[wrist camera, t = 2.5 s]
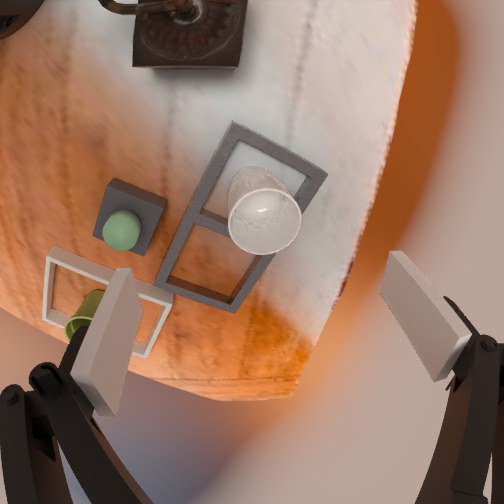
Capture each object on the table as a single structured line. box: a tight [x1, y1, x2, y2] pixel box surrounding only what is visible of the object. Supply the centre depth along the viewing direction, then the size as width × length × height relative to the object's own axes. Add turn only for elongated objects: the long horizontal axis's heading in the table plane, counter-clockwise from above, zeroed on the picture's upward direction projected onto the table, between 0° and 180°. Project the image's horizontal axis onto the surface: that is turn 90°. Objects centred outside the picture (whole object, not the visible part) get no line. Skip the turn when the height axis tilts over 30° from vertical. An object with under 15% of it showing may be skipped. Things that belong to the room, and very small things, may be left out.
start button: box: [102, 210, 141, 251], centre depth 36 cm, size 5×5×5 cm
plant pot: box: [64, 290, 105, 342], centre depth 44 cm, size 9×9×9 cm
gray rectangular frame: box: [42, 245, 174, 359], centre depth 46 cm, size 22×16×3 cm
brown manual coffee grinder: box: [98, 0, 248, 70], centre depth 20 cm, size 16×11×18 cm
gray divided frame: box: [153, 120, 328, 314], centre depth 42 cm, size 14×26×2 cm, turn 151°
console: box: [93, 178, 167, 256], centre depth 39 cm, size 8×8×3 cm
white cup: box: [228, 167, 302, 255], centre depth 36 cm, size 8×8×10 cm
